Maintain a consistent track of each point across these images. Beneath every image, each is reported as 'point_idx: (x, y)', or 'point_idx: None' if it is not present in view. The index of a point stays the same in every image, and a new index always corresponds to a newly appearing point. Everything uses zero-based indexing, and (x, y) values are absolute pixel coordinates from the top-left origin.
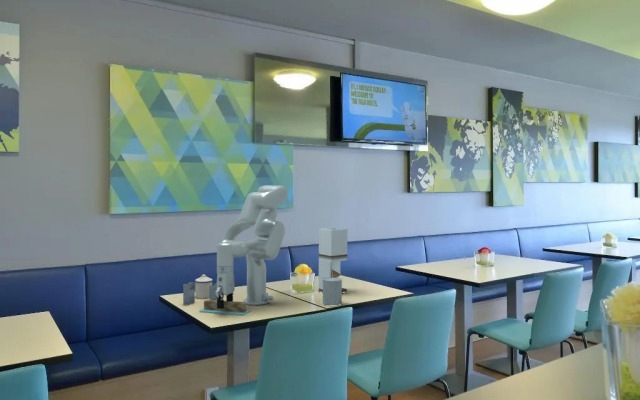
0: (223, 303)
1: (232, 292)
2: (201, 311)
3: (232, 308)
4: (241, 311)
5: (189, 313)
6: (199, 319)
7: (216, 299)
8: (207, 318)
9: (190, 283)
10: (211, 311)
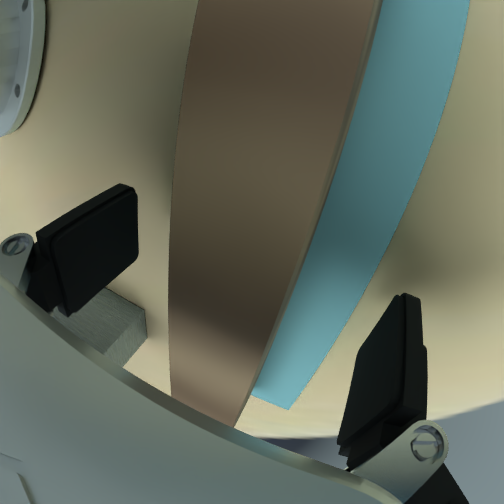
0: (420, 355)
1: (2, 267)
2: (295, 399)
3: (339, 152)
4: (380, 7)
5: (322, 435)
6: (494, 401)
7: (92, 331)
8: (497, 367)
9: None
10: (318, 357)
